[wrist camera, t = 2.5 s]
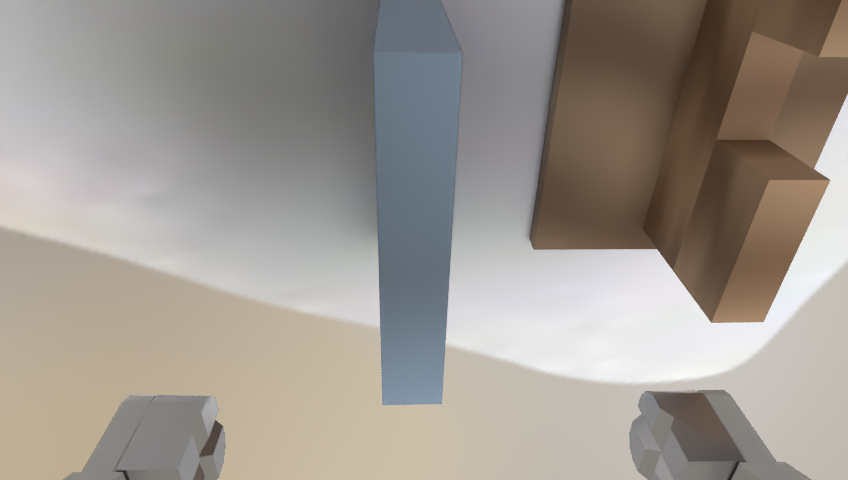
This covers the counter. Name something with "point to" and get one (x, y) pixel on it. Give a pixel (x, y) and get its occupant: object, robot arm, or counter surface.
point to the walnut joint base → (693, 137)
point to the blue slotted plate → (415, 192)
